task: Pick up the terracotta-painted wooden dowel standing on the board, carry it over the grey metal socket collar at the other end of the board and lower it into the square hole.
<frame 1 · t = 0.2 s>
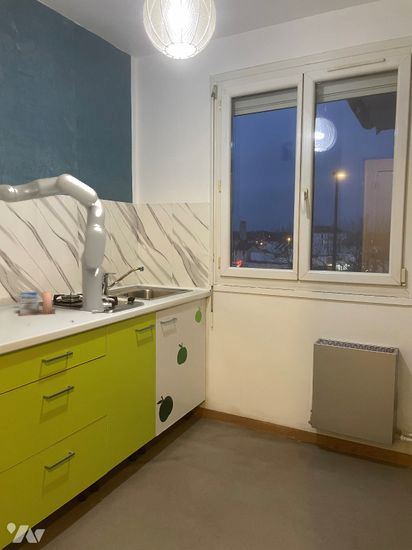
medicine box: (29, 309, 210), on the counter
socket board: (37, 314, 195), on the counter
peg: (47, 313, 193), point 1 cm above the counter, touching socket board
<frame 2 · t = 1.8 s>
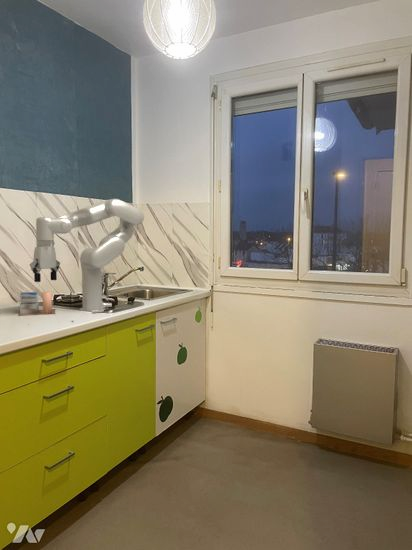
hand: (45, 280, 191), 16 cm above the counter, tool pointing down, fingers open, 9 cm apart
nothing on the counter moved.
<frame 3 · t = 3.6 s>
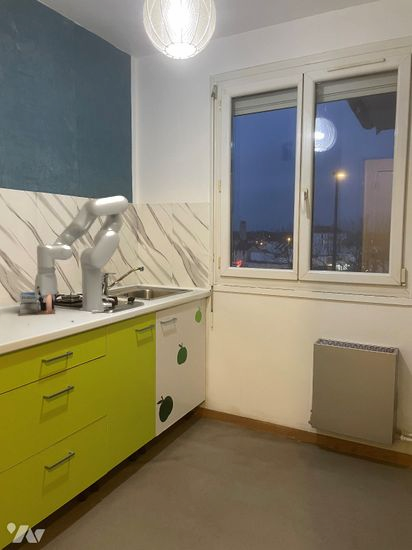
hand: (47, 309, 192), 3 cm above the counter, tool pointing down, fingers closed on peg, 4 cm apart
peg: (47, 313, 193), point 1 cm above the counter, touching gripper, socket board
everything else where it was.
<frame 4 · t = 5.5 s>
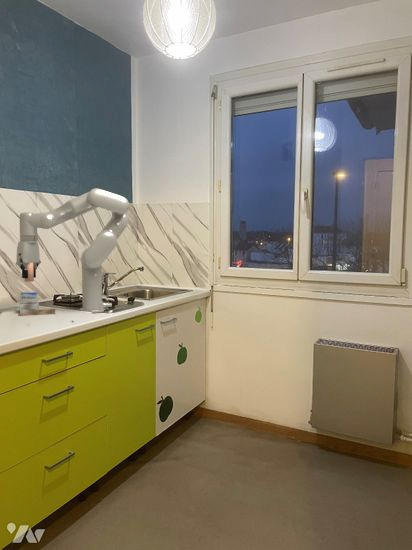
hand: (29, 277, 194), 18 cm above the counter, tool pointing down, fingers closed on peg, 4 cm apart
peg: (29, 281, 194), point 16 cm above the counter, touching gripper
everything else where it was.
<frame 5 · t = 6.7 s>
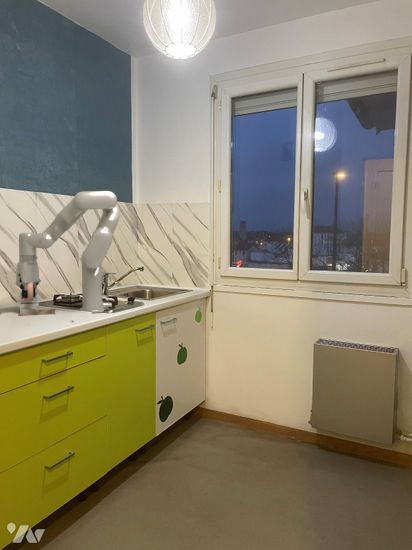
hand: (28, 296, 196), 8 cm above the counter, tool pointing down, fingers closed on peg, 4 cm apart
peg: (28, 300, 196), point 6 cm above the counter, touching gripper
everything else where it was.
when the fingers open (6 cm above the counter, at t = 7.4 s): peg drops 3 cm, resting on socket board.
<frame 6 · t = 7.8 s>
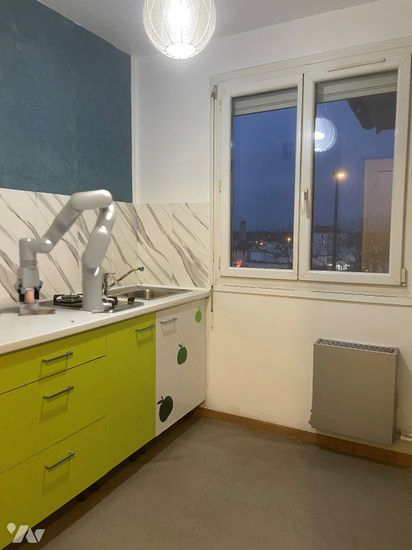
hand: (29, 300, 196), 7 cm above the counter, tool pointing down, fingers open, 8 cm apart
peg: (30, 311, 196), point 1 cm above the counter, touching socket board
everything else where it was.
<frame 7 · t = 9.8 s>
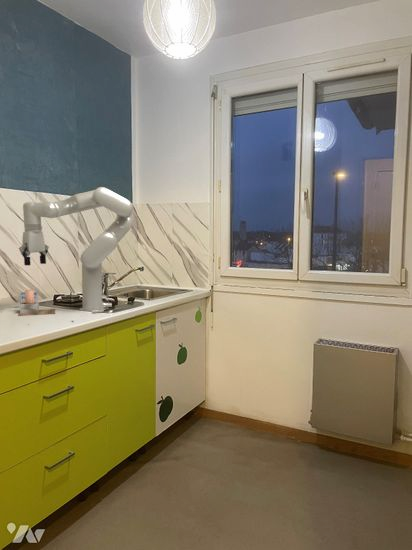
hand: (35, 264, 197), 24 cm above the counter, tool pointing down, fingers open, 9 cm apart
nothing on the counter moved.
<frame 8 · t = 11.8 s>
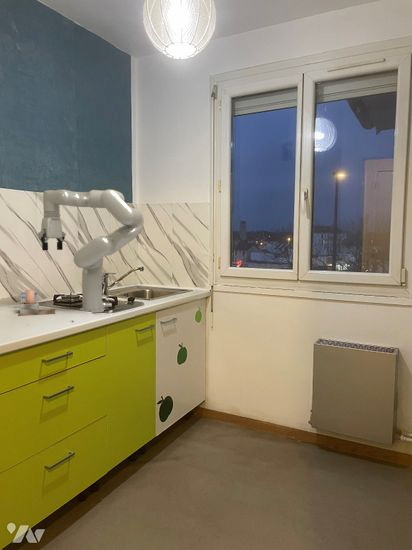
hand: (52, 250, 206), 30 cm above the counter, tool pointing down, fingers open, 9 cm apart
nothing on the counter moved.
at the end: peg 0.2 cm from the target spot, point 1.3 cm above the counter; peg tilted 2°; the gripper is holding nothing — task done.
